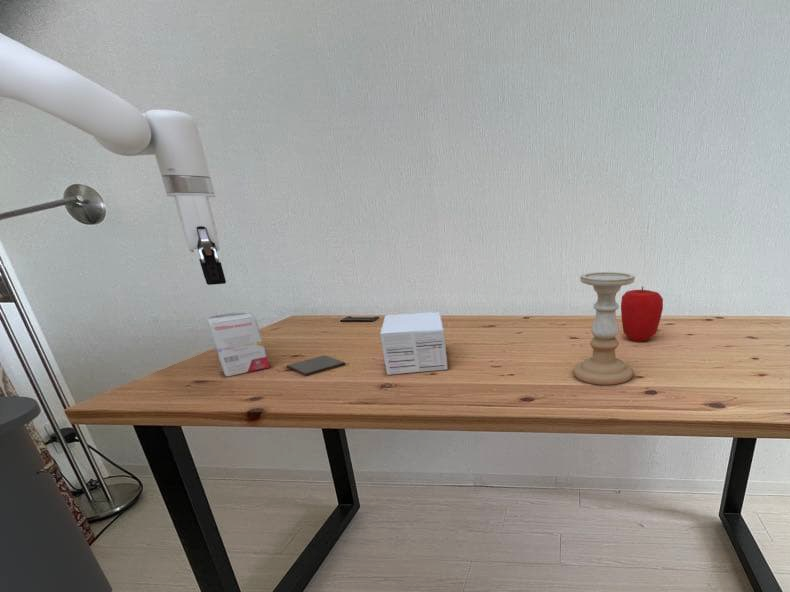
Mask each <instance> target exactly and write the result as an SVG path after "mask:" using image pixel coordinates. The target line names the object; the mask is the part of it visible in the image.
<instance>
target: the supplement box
mask: <svg viewBox="0 0 790 592" xmlns="http://www.w3.org/2000/svg"><path fill="white" fill-rule="evenodd" d="M379 337H380V343H381V350H382V355H383V361H384V366H385V371H386V376H390V375H401V374H412V373H422V372H433V371H434V372H435V371H445V370H449V369H448V366H449V365H448V355H447V345H446V337H445V329H444V325H443V321H442V314H441V311H429V312H428V311H427V312H414V313H412V312H411V313H398V314H386V315H385V316H384V319H383V322H382V326H381V329H380V334H379Z"/></svg>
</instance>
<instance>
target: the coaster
mask: <svg viewBox="0 0 790 592" xmlns="http://www.w3.org/2000/svg"><path fill="white" fill-rule="evenodd" d="M345 365H346V363H345V362H344V361H342V360H339V359H336V358H335V357H331V356H328V355H325V354H324V355H320V356H317V357H312V358H309V359H305V360H301V361H297V362H294V363H293V362H292V363H289V364H286V368H287V369H289V370H291V371H294V372H296V373H299V374H301V375H303V376H306V377H308V376H311V375H314V374H318V373H321V372H325V371H328V370H329V371H330V370H332V369H336V368H339V367H342V366H345Z"/></svg>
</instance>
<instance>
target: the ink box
mask: <svg viewBox="0 0 790 592" xmlns="http://www.w3.org/2000/svg"><path fill="white" fill-rule="evenodd" d="M206 322H207V323H206V324H207V326H208V329H209V333H210V335H211V338H212V342H213V345H214V347H215V351H216V354H217V356H218V360H219V362H220V365H221V368H222V372H223V374H224V376H225V377H232V376H237V375H241V374H246V373H250V372H255V371H260V370H264V369H269V368H270V363H269V359H268V355H267V353H266V349H265V345H264V342H263V338H262V335H261V332H260V329H259V325H258V321H257V318H256V317H255V316H254V314H253V313H247V314H243V315H235V316H227V317H219V318H212V319H208V318H207V319H206Z"/></svg>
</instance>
